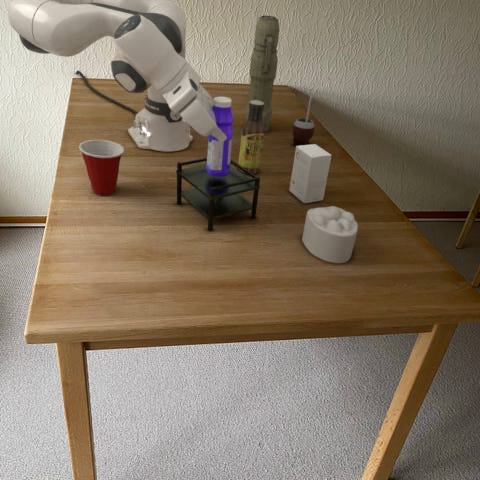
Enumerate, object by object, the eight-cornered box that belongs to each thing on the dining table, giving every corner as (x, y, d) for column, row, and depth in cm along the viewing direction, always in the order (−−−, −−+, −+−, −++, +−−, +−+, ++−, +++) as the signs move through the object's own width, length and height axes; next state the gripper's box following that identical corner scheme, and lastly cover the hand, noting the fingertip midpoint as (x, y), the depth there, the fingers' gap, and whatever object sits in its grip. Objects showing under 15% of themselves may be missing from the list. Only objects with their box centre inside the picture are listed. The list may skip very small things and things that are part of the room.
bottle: (205, 165, 126) (209, 93, 116) (228, 166, 127) (234, 94, 116) (206, 178, 120) (210, 103, 110) (230, 179, 121) (236, 105, 110)
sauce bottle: (243, 176, 147) (249, 106, 135) (234, 167, 152) (240, 99, 140) (263, 174, 150) (271, 105, 138) (254, 165, 154) (261, 98, 142)
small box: (323, 200, 139) (332, 155, 131) (303, 204, 137) (311, 157, 129) (307, 187, 145) (315, 143, 137) (288, 190, 142) (295, 145, 134)
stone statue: (264, 121, 186) (276, 13, 164) (274, 134, 177) (288, 21, 156) (240, 122, 183) (249, 12, 162) (249, 134, 174) (260, 20, 153)
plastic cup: (129, 199, 131) (126, 154, 124) (85, 201, 128) (80, 155, 121) (124, 180, 139) (121, 137, 132) (82, 182, 136) (77, 138, 129)
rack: (175, 203, 131) (176, 162, 125) (221, 192, 138) (223, 153, 132) (209, 231, 121) (211, 189, 115) (256, 218, 128) (261, 177, 122)
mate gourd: (297, 149, 167) (304, 102, 158) (285, 140, 173) (292, 94, 164) (316, 147, 170) (324, 101, 161) (304, 138, 175) (312, 93, 166)
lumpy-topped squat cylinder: (335, 231, 126) (342, 199, 121) (361, 260, 117) (370, 227, 111) (297, 235, 123) (302, 203, 118) (320, 265, 114) (328, 232, 108)
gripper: (171, 82, 120) (210, 125, 127) (169, 111, 104) (215, 159, 111) (190, 63, 118) (229, 108, 125) (192, 90, 101) (237, 140, 109)
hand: (223, 132), depth 118 cm, fingers closed on bottle, 7 cm apart
